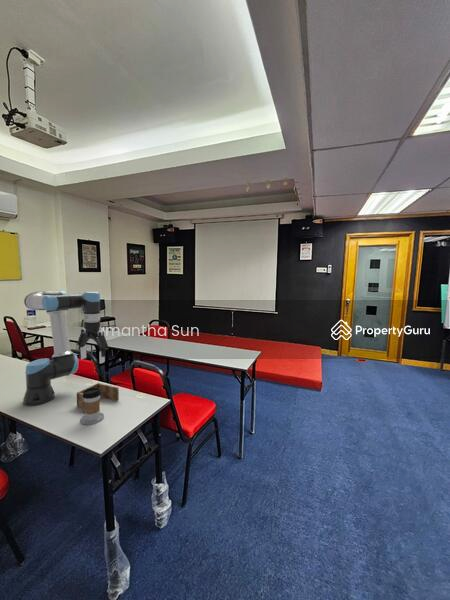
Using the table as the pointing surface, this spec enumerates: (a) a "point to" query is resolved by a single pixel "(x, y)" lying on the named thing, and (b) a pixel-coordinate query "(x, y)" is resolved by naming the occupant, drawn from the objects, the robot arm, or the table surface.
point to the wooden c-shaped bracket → (105, 390)
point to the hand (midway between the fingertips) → (92, 360)
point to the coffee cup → (92, 403)
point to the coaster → (85, 422)
